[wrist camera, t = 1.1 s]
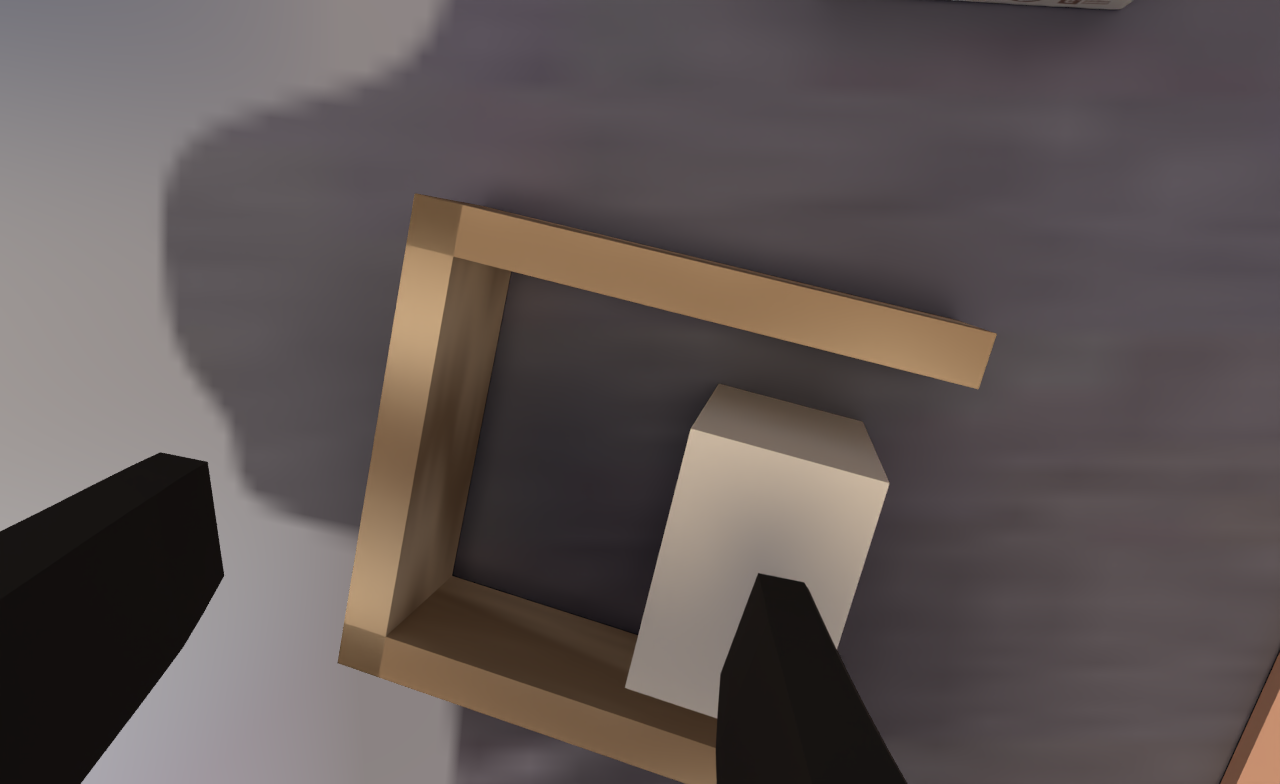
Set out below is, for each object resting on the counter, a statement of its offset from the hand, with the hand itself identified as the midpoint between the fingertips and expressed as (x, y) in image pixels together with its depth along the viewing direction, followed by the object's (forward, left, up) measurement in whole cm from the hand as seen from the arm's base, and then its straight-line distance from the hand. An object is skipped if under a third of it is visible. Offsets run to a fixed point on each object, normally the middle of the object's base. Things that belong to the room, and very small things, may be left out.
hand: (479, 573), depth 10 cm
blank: (-2, -4, -12) cm, 13 cm away
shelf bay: (-2, -1, -12) cm, 12 cm away
